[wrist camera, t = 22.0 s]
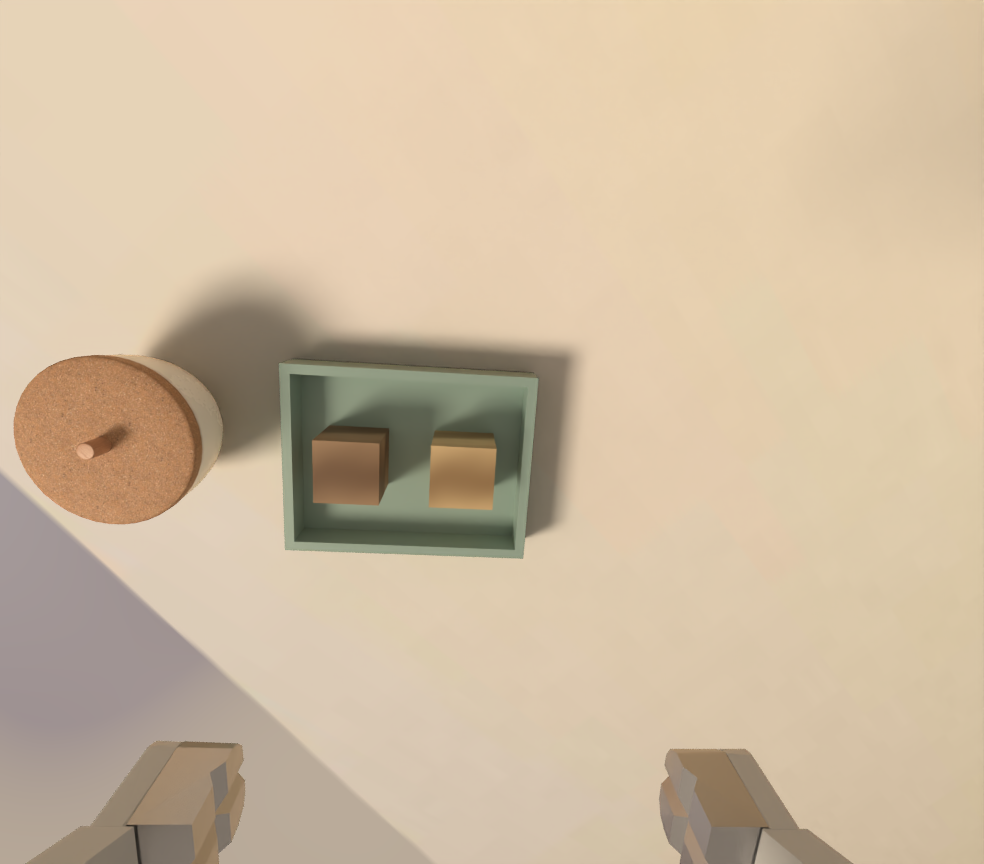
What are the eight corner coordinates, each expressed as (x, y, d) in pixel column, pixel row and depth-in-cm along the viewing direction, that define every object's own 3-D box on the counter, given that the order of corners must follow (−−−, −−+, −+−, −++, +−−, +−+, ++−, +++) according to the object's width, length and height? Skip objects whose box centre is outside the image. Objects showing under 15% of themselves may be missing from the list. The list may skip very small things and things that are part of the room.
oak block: (435, 430, 39) (430, 445, 35) (493, 433, 40) (496, 448, 35) (432, 485, 41) (428, 507, 36) (489, 488, 41) (492, 510, 36)
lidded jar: (174, 316, 37) (79, 319, 28) (276, 430, 40) (219, 467, 30) (69, 404, 38) (-55, 435, 29) (174, 510, 41) (90, 569, 32)
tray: (293, 358, 38) (278, 363, 35) (533, 372, 39) (538, 378, 36) (298, 532, 42) (284, 550, 39) (519, 540, 43) (523, 558, 40)
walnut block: (329, 425, 39) (312, 440, 35) (389, 428, 39) (379, 443, 35) (329, 481, 40) (313, 502, 36) (388, 483, 40) (378, 505, 36)
